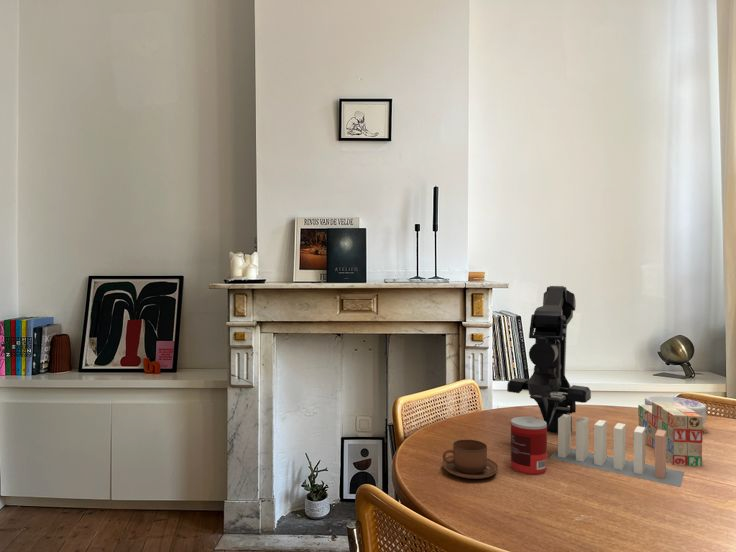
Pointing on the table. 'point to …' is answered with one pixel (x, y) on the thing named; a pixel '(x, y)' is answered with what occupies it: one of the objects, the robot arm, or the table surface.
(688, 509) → the table surface
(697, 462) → the stack of blocks
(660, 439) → the domino
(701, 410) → the paper bowls
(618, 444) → the domino
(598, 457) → the domino
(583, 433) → the domino
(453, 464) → the cup and saucer
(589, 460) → the mat
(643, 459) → the domino
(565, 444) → the domino
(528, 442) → the canned food
